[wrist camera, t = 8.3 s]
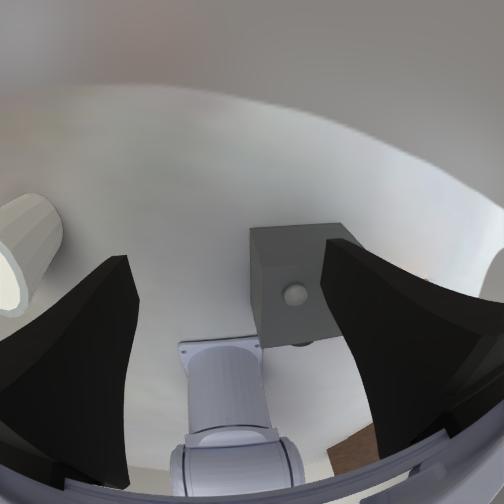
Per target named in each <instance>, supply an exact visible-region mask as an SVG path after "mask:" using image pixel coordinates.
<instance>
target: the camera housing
mask: <svg viewBox="0 0 504 504" xmlns="http://www.w3.org/2000/svg"><path fill="white" fill-rule="evenodd" d="M335 238H343V239H345V240H348V241H350V242H352V243H354V244H356V245H358V246H360V247H362V248H364V247H363V246H362V245H361V244H360V243H359V242H358V241H357V240H356V239H355V237H354V236H353V235H352V234H351V233H350V232H349V231H348V230H347V229H346V228H345V227H344V226H343V225H342V224H341V223H328V224H310V225H293V226H277V227H261V228H250V285H251V307H252V312H253V316H254V321H255V325H256V330H257V335H258V339H259V344H260V348H261V349H263V348H271V347H278V346H285V345H292V346H298V347H301V346H307V345H309V344H311V343H313V342H314V341H316V340H322V339H328V338H333V337H338V336H343V335H342V333H341V331H340V329H339V327H338V325H337V323H336V321H335V319H334V318H333V316H332V314H331V312H330V310H329V308H328V306H327V303H326V300H325V298H324V295H323V292H322V289H321V286H320V280H321V273H322V267H323V261H324V254H325V247H326V239H335ZM364 249H365V248H364ZM365 250H366V249H365Z"/></svg>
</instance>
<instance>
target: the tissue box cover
mask: <svg viewBox="0 0 504 504" xmlns="http://www.w3.org/2000/svg"><path fill="white" fill-rule="evenodd" d="M327 453H328V456H329V459H330V462H331V465H332V468H333V472H334V475H335V476H337V475H340V474H344V473H347V472H350V471H353V470H356V469H358V468H361V467H364V466H367V465H369V464H372V463H374V462H377V461H379V460H380V458H379V455H378V447H377V441H376V435H375V429H374V424H373V423H371V424H369V425H368V426H366V427H365V428H363V429H361V430H360V431H358V432H356V433H355V434H353V435H351V436H349V437H348V439H346V440H344V441H342V442H340V443H339V444H337V445H335V446H333V447H331V448H329V449H327Z"/></svg>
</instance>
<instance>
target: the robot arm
mask: <svg viewBox="0 0 504 504" xmlns="http://www.w3.org/2000/svg"><path fill="white" fill-rule="evenodd" d="M320 286H321V289H322V292H323V295H324V298H325V300H326V303H327V306H328V308H329V310H330V312H331V314H332V316H333V318H334V319H335V321H336V323H337V325H338V327H339V329H340V331H341V333H342V335H343V337H344V339H345V341H346V343H347V345H348V346H349V348H350V350H351V353H352V355H353V357H354V359H355V362H356V365H357V368H358V370H359V373H360V376H361V379H362V382H363V385H364V389H365V392H366V396H367V399H368V403H369V407H370V411H371V415H372V419H373V424H374V429H375V435H376V441H377V447H378V455H379V458H380V460H379V461H377V462H374V463H372V464H369V465H367V466H364V467H361V468H358V469H356V470H353V471H350V472H347V473H344V474H340V475H337V476H334V477H330V478H327V479H324V480H319V481H316V482H312V483H307V484H305V473H304V467H303V463H302V459H301V456H300V453H299V451H298V448H297V447H296V445H295V444H294V443H293V442H292V441H290V440H289V439H288V438H287V437H280V438H279V434H278V430H277V428H272V426H271V421H270V417H269V412H268V407H267V403H266V398H265V393H264V389H263V384H262V379H261V377H262V349H261V348H260V344H259V339H258V336H257V337H247V338H238V339H227V340H216V341H202V342H187V343H180V344H179V345H178V350H179V353H180V357H181V360H182V363H183V366H184V369H185V372H186V375H187V378H188V421H189V434H186V435H185V444H179V445H178V446H177V447H176V448H175V449H174V450H173V451H172V454H171V458H170V479H171V487H172V491H173V495H174V496H164V495H151V494H142V493H133V492H127V491H121V490H123V489H125V488H127V487H128V486H129V485H130V480H129V475H128V469H127V461H126V454H125V442H124V388H125V379H126V372H127V367H128V363H129V358H130V353H131V349H132V344H133V340H134V335H135V331H136V327H137V321H138V313H139V303H140V299H139V296H138V293H137V289H136V286H135V283H134V279H133V276H132V272H131V269H130V265H129V262H128V258H127V255H121V256H111V257H110V258H108V259H107V260H106V261H104V262H103V263H102V264H101V265H99V266H98V267H97V268H96V269H95V270H93V271H92V272H91V273H90V274H89V275H88V276H87V277H85V278H84V279H83V280H82V281H81V282H80V283H79V284H78V285H76V286H75V287H74V288H73V289H72V290H71V291H69V292H68V293H67V294H66V295H65V296H64V297H62V298H61V299H60V300H59V301H58V302H57V303H55V304H54V305H53V306H52V307H50V308H49V309H48V310H47V311H45V312H44V313H43V314H41V315H40V316H39V317H37V318H36V319H35V320H33V321H32V322H30V323H29V324H27V325H26V326H24V327H22V328H21V329H19V330H18V331H16V332H15V333H13V334H12V335H10V336H9V337H7V338H5V339H3V340H2V341H0V504H323V503H327V502H330V501H334V500H337V499H340V498H343V497H346V496H349V495H352V494H355V493H358V492H361V491H363V490H366V489H368V488H371V487H373V486H376V485H378V484H381V483H383V482H385V481H388V480H389V479H392V478H394V477H396V476H398V475H400V474H403V473H405V472H407V471H408V470H411V471H410V472H409V476H408V478H407V479H406V480H404V481H403V482H400V483H398V484H396V485H394V486H392V487H390V488H388V489H385V490H384V491H381V492H379V493H377V494H374V495H372V496H369V497H367V498H364V499H362V500H360V504H489V503H490V502H491V501H492V500H493V498H494V497H495V496H496V495H497V493H498V492H499V491H500V489H501V488H502V487H503V485H504V303H500V302H493V301H488V300H484V299H480V298H476V297H472V296H468V295H465V294H461V293H458V292H455V291H452V290H449V289H446V288H444V287H441V286H438V285H436V284H433V283H431V282H429V281H426V280H424V279H422V278H419V277H417V276H415V275H413V274H411V273H409V272H407V271H405V270H403V269H401V268H399V267H397V266H395V265H393V264H391V263H389V262H387V261H385V260H384V259H382V258H380V257H378V256H376V255H375V254H373V253H371V252H369V251H367V250H365V249H364V248H362V247H360V246H358V245H356V244H354V243H352V242H350V241H348V240H345V239H343V238H335V239H326V247H325V254H324V261H323V267H322V273H321V280H320ZM256 344H257V345H256ZM183 350H184V351H183ZM412 468H413V469H412ZM95 485H98V486H95ZM100 486H103V487H100ZM104 486H105V487H109V488H115V489H121V490H115V489H109V488H104Z"/></svg>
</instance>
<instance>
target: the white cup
mask: <svg viewBox="0 0 504 504" xmlns="http://www.w3.org/2000/svg"><path fill="white" fill-rule="evenodd" d="M62 238H63V228H62V222H61V219H60V217H59V215H58V212H57V210H56V208H55V207H54V206H53V205H52V204H51V203H50V201H49V200H48V199H47V198H45V197H43V196H41V195H39V194H37V193H26V194H24V195H22V196H20V197H18V198H16V199H14V200H12V201H10V202H8V203H7V204H5V205H3V206H1V207H0V315H3V316H7V317H11V318H14V317H17V316H21V315H23V314H24V312H25V310H26V309H27V307H28V305H29V303H30V301H31V299H32V297H33V295H34V293H35V291H36V289H37V287H38V285H39V283H40V281H41V279H42V277H43V276H44V274H45V272H46V270H47V268H48V266H49V265H50V263H51V261H52V259H53V258H54V256H55V254H56V253H57V251H58V249H59V248H60V246H61V243H62Z"/></svg>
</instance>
